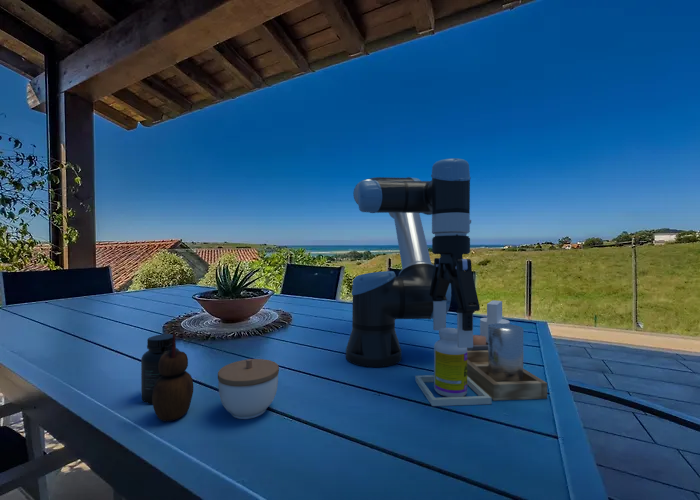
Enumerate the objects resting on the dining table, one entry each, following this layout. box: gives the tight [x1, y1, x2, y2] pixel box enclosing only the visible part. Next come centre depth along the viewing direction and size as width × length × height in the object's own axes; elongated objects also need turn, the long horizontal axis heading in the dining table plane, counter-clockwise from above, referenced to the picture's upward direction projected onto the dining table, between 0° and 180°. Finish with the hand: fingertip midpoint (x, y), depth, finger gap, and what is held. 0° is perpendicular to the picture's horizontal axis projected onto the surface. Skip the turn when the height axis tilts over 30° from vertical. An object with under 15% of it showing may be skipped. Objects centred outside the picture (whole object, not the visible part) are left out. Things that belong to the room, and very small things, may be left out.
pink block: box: [473, 334, 486, 345], centre depth 89 cm, size 4×4×5 cm
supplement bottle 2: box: [433, 327, 468, 397], centre depth 67 cm, size 7×7×13 cm
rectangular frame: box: [415, 374, 493, 407], centre depth 67 cm, size 12×12×1 cm
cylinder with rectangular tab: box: [479, 299, 511, 340], centre depth 107 cm, size 9×9×12 cm
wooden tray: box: [467, 350, 548, 401], centre depth 74 cm, size 11×21×3 cm, turn 4°
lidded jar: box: [217, 358, 280, 420], centre depth 59 cm, size 11×11×9 cm
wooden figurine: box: [152, 329, 194, 422], centre depth 57 cm, size 7×6×15 cm
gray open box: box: [467, 340, 488, 351], centre depth 89 cm, size 7×7×4 cm
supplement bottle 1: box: [140, 333, 180, 405], centre depth 65 cm, size 7×7×12 cm
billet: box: [488, 323, 524, 382], centre depth 69 cm, size 7×7×12 cm
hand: (451, 337), depth 67 cm, fingers open, 13 cm apart
